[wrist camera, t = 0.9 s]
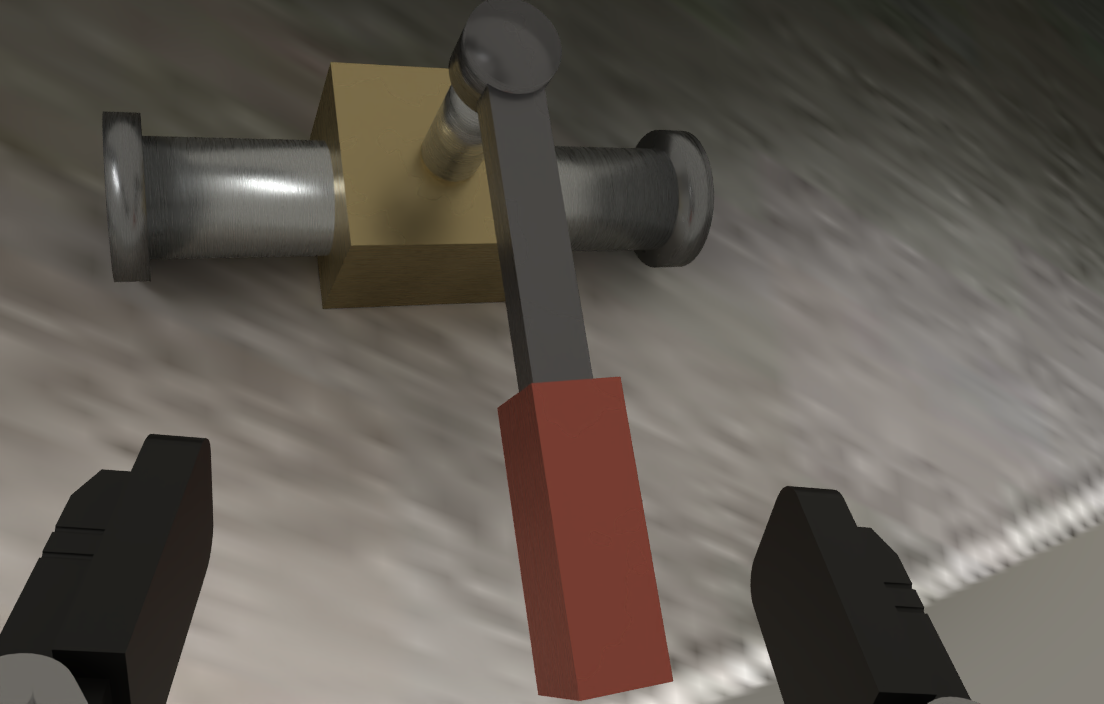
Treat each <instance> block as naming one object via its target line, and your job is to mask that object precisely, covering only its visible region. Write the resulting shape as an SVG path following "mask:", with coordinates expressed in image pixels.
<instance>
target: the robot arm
mask: <svg viewBox="0 0 1104 704" xmlns="http://www.w3.org/2000/svg"><path fill="white" fill-rule="evenodd" d="M212 538H213V500H212V472H211V448H210V442H209V440H208V439H207V438H196V437H183V436H170V435H158V434H150V435H148V437H147V438H146V440H145V442H144V444H143V446H142V448H141V450H140V453H139V455H138V457H137V459H136V462H135V464H134V466H133V468H132V470H131V472H130V471H116V470H103V469H102V470H101V471H99V472H98V473H97V474H96V475H95V476H93V477H92V478H91V479H90V480H89V481H87V482H86V483H85V484H84V485H83V486H81V487H80V488H79V489H78V490H77V491H75V492H74V493H73V494H72V495H71V496H70V498H69V500H68V502H67V504H66V506H65V508H64V510H63V512H62V514H61V516H60V518H59V520H58V522H57V524H56V526H55V532H52V534H51V536H50V538H49V540H48V542H47V543H46V545H45V547H44V549H43V554H42V558H39V559H38V561H37V563H36V565H35V567H34V569H33V571H32V573H31V575H30V577H29V579H28V581H27V583H26V585H25V587H24V589H23V591H22V593H21V595H20V596H19V598H18V600H17V602H16V604H15V606H14V608H13V610H12V612H11V614H10V616H9V618H8V620H7V622H6V624H5V626H4V628H3V630H2V632H1V634H0V704H166V701H167V698H168V695H169V692H170V688H171V685H172V682H173V679H174V675H175V672H176V669H177V666H178V662H179V659H180V656H181V652H182V649H183V646H184V643H185V639H186V636H187V633H188V630H189V626H190V623H191V620H192V617H193V613H194V610H195V607H196V604H197V600H198V597H199V594H200V591H201V587H202V584H203V581H204V578H205V574H206V571H207V567H208V563H209V558H210V553H211V546H212ZM751 597H752V603H753V606H754V610H755V613H756V616H757V619H758V622H759V625H760V628H761V632H762V635H763V638H764V641H765V644H766V647H767V651H768V654H769V657H770V660H771V663H772V666H773V669H774V673H775V676H776V679H777V682H778V685H779V688H780V692H781V695H782V698H783V701H784V704H979V703H977V702H974V701H971V699H970V697H969V695H968V693H967V691H966V689H965V687H964V685H963V683H962V681H961V679H960V677H959V676H958V673H957V671H956V669H955V667H954V665H953V663H952V661H951V659H950V657H949V655H948V653H947V651H946V649H945V647H944V646H943V644H942V642H941V640H940V638H939V636H938V634H937V632H936V630H935V628H934V626H933V624H932V622H931V620H930V618H929V616H928V614H924V606H923V604H922V602H921V600H920V598H919V596H918V594H917V592H916V590H913V589H912V582H911V581H910V579H909V577H908V575H907V573H906V571H905V569H904V567H903V565H902V563H901V561H900V559H899V557H898V555H897V554H896V553H895V552H894V551H893V550H892V549H891V548H890V547H889V546H888V545H887V544H886V543H885V542H884V541H883V540H882V539H881V538H880V537H879V536H878V535H877V534H876V533H875V532H874V530H873V529H872V528H866V527H857V525H856V523H855V521H854V519H853V517H852V515H851V513H850V511H849V508H848V506H847V504H846V502H845V500H844V498H843V496H842V495H841V494H840V492H838V491H837V490H831V489H819V488H806V487H793V486H786V487H784V488H783V489H782V490H781V491H780V493H779V495H778V497H777V500H776V502H775V505H774V508H773V510H772V513H771V516H770V518H769V521H768V524H767V526H766V529H765V532H764V534H763V537H762V540H761V542H760V545H759V548H758V550H757V553H756V556H755V558H754V561H753V565H752V571H751Z"/></svg>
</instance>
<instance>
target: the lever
mask: <svg viewBox="0 0 1104 704" xmlns="http://www.w3.org/2000/svg"><path fill="white" fill-rule="evenodd" d="M561 57H562V47H561V42H560V38H559V35H558V33H557V31H556V29H555V27H554V26H553V24H552V23H551V21H550V20H549V19H548V18H547V17H546V16H545V15H544V14H543V13H542V12H541V11H540V10H538V9H537V8H535V7H534V6H532V5H531V4H529V3H527V2H524V1H522V0H487V1H484V2H483V3H481V4H480V5H478V6H477V7H476V8H475V9H474V10H473V11H472V13H471V15H470V16H469V19H468V21H467V23H466V25H465V27H464V29H463V31H462V33H461V35H460V38H459V40H458V42H457V44H456V46H455V48H454V50H453V52H452V55H451V57H450V61H449V77H450V81H451V84H452V87H453V89H454V91H455V92H456V94H457V95H458V97H459V98H460V99H461V100H462V102H463V103H464V104H466V105H467V106H468V107H469V108H470V109H472V110H473V111H475V112H476V113H478V119H479V126H480V133H481V139H482V146H483V153H484V160H485V166H486V173H487V180H488V186H489V193H490V200H491V207H492V213H493V220H494V227H495V234H496V240H497V247H498V254H499V261H500V267H501V274H502V281H503V287H504V294H505V301H506V308H507V314H508V321H509V328H510V335H511V341H512V348H513V355H514V362H515V368H516V375H517V382H518V389H519V393H517V394H516V395H515V396H513V397H512V398H510V399H509V400H508V401H506V402H505V403H504V404H502V405H501V406H499V407H498V408H497V409H498V416H499V423H500V430H501V437H502V444H503V451H504V458H505V465H506V472H507V479H508V486H509V493H510V500H511V507H512V514H513V521H514V528H515V535H516V542H517V549H518V556H519V563H520V570H521V577H522V584H523V591H524V598H525V605H526V612H527V619H528V626H529V633H530V640H531V647H532V654H533V661H534V668H535V675H536V682H537V689H538V695H541V696H549V697H556V698H563V699H570V700H577V701H582V700H587V699H591V698H596V697H601V696H606V695H610V694H615V693H620V692H625V691H629V690H634V689H639V688H644V687H649V686H653V685H658V684H663V683H668V682H672V681H673V677H672V671H671V665H670V659H669V654H668V648H667V642H666V636H665V631H664V625H663V619H662V613H661V608H660V602H659V596H658V590H657V585H656V579H655V573H654V567H653V562H652V556H651V550H650V544H649V539H648V533H647V527H646V521H645V515H644V510H643V504H642V498H641V492H640V487H639V481H638V475H637V469H636V464H635V458H634V452H633V446H632V441H631V435H630V429H629V423H628V418H627V412H626V406H625V400H624V395H623V389H622V383H621V377H610V378H596V379H593V375H592V369H591V363H590V357H589V351H588V345H587V339H586V333H585V327H584V321H583V315H582V309H581V303H580V297H579V291H578V285H577V279H576V273H575V267H574V261H573V255H572V249H571V243H570V237H569V231H568V225H567V219H566V213H565V207H564V201H563V195H562V189H561V183H560V177H559V171H558V165H557V159H556V153H555V147H554V141H553V135H552V129H551V123H550V117H549V111H548V105H547V99H546V93H545V88H546V86H547V85H548V83H549V82H550V80H551V79H552V77H553V76H554V74H555V73H556V71H557V69H558V68H559V65H560V62H561Z"/></svg>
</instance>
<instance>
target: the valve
mask: <svg viewBox="0 0 1104 704" xmlns="http://www.w3.org/2000/svg"><path fill="white" fill-rule="evenodd" d="M554 147H555V153H556V159H557V165H558V171H559V177H560V183H561V189H562V195H563V201H564V207H565V213H566V219H567V225H568V231H569V237H570V243H571V249H572V251H603V250H634V251H635V253H636V255H637V256H638V258H639V259H640V260H641V261H642V262H643V263H644V264H646V265H647V266H649V267H654V268H656V267H682V266H686V265H687V264H689V263H691V262H692V261H693V260H694V259H695V258H696V257H697V256H698V254H699V253H700V251H701V250H702V248H703V246H704V244H705V241H706V239H707V236H708V233H709V229H710V226H711V221H712V215H713V205H714V186H713V177H712V171H711V167H710V163H709V160H708V157H707V154H706V152H705V150H704V148H703V146H702V144H701V143H700V141H699V140H698V139H697V138H696V137H695V136H694V135H692V134H691V133H689V132H686V131H672V130H654V131H651V132H649V133H648V134H646V135H645V136H644V137H643V138H642V139H641V140H640V142H639V143H638V145H637V146H636V148H605V147H565V146H554ZM103 153H104V172H105V189H106V204H107V217H108V230H109V242H110V253H111V263H112V271H113V278H114V282H136V281H151V279H150V263H149V259H184V258H236V257H289V256H317V257H318V267H319V277H320V287H321V296H322V306H323V309H328V308H353V307H379V306H404V305H430V304H455V303H481V302H506V301H505V294H504V287H503V281H502V274H501V267H500V261H499V254H498V247H497V240H496V234H495V227H494V220H493V213H492V207H491V200H490V193H489V186H488V180H487V173H486V166H485V160H484V153H483V146H482V139H481V133H480V126H479V119H478V113H476V112H475V111H473V110H472V109H470V108H469V107H468V106H467V105H466V104H464V103H463V102H462V100H461V99H460V98H459V97H458V95H457V94H456V92H455V91H454V89H453V87H452V84H451V81H450V77H449V69H443V68H425V67H407V66H389V65H371V64H352V63H334V62H331V63H330V67H329V70H328V74H327V78H326V81H325V85H324V89H323V92H322V96H321V100H320V103H319V107H318V111H317V114H316V118H315V122H314V125H313V129H312V133H311V136H310V140H284V139H244V138H204V137H164V136H142V132H141V116H140V113H131V112H103Z"/></svg>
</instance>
